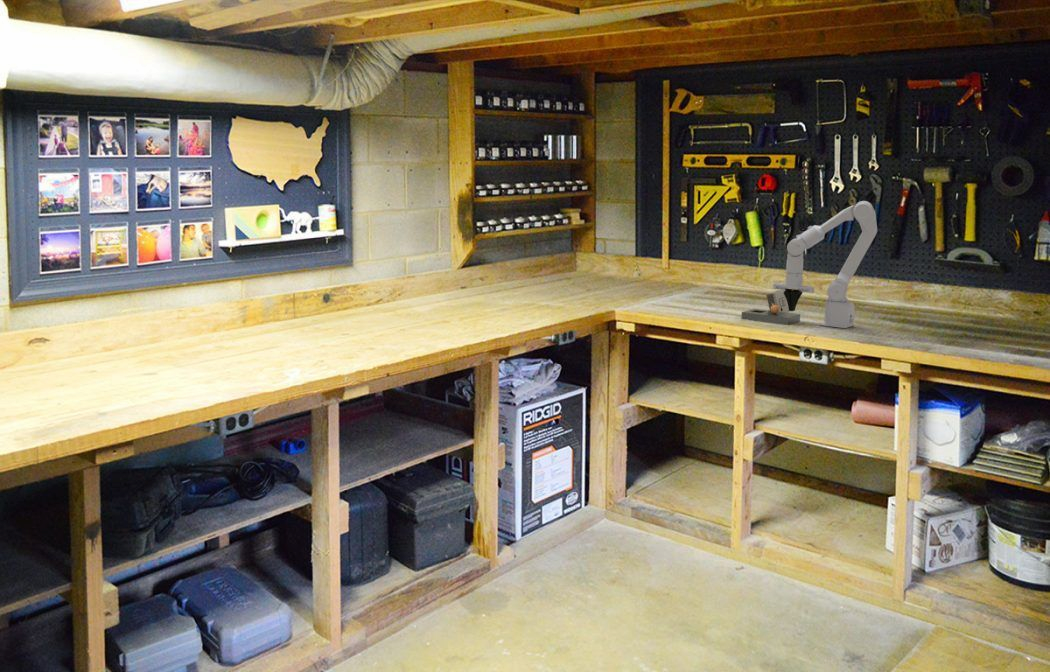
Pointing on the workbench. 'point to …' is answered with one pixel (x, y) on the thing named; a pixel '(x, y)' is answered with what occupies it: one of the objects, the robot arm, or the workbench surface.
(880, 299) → the workbench surface
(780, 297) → the electrical switch
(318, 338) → the workbench surface
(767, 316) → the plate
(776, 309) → the ball
